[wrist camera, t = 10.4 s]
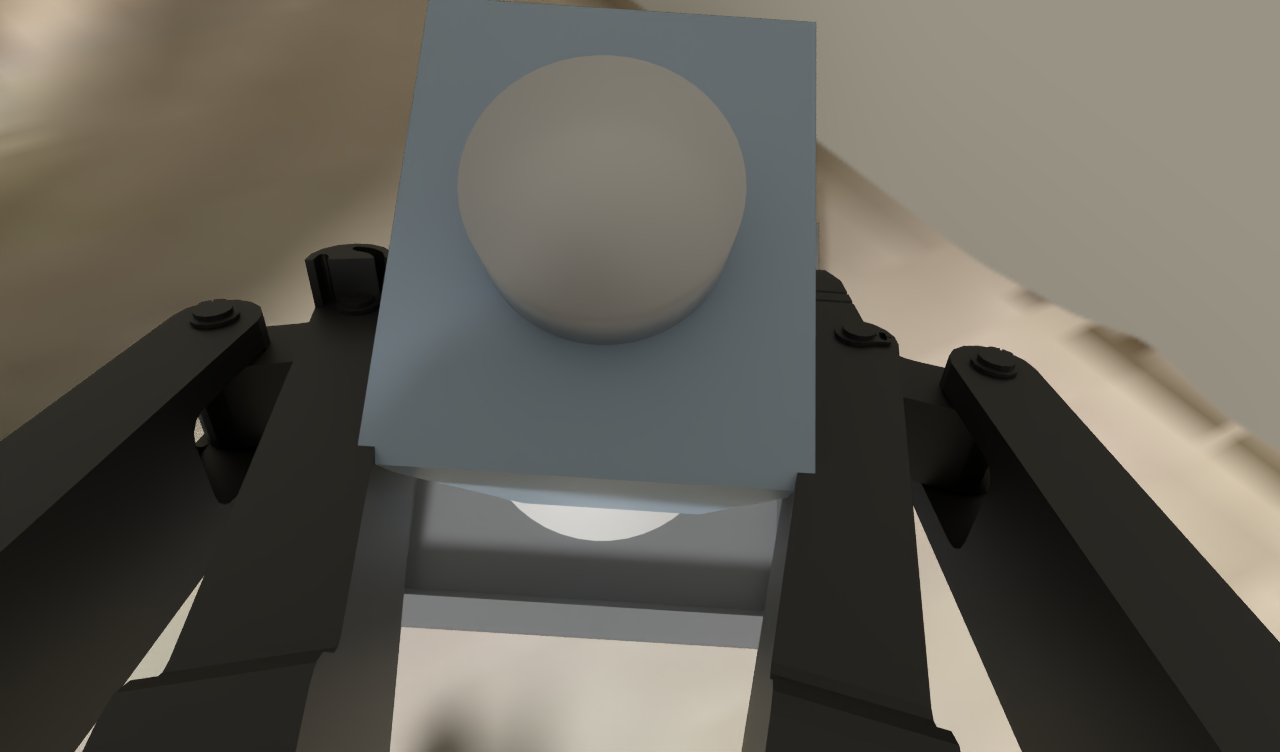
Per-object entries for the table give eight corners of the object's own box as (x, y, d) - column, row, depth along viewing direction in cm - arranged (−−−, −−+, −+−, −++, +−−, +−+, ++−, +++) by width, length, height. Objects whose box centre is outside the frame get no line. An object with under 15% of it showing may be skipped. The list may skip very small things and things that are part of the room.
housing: (378, 613, 23) (350, 623, 21) (433, 224, 27) (414, 194, 24) (797, 639, 24) (817, 652, 21) (800, 250, 27) (818, 222, 24)
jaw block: (524, 503, 19) (311, 453, 6) (544, 304, 20) (403, -73, 8) (699, 514, 19) (844, 487, 6) (707, 315, 20) (840, -43, 8)
